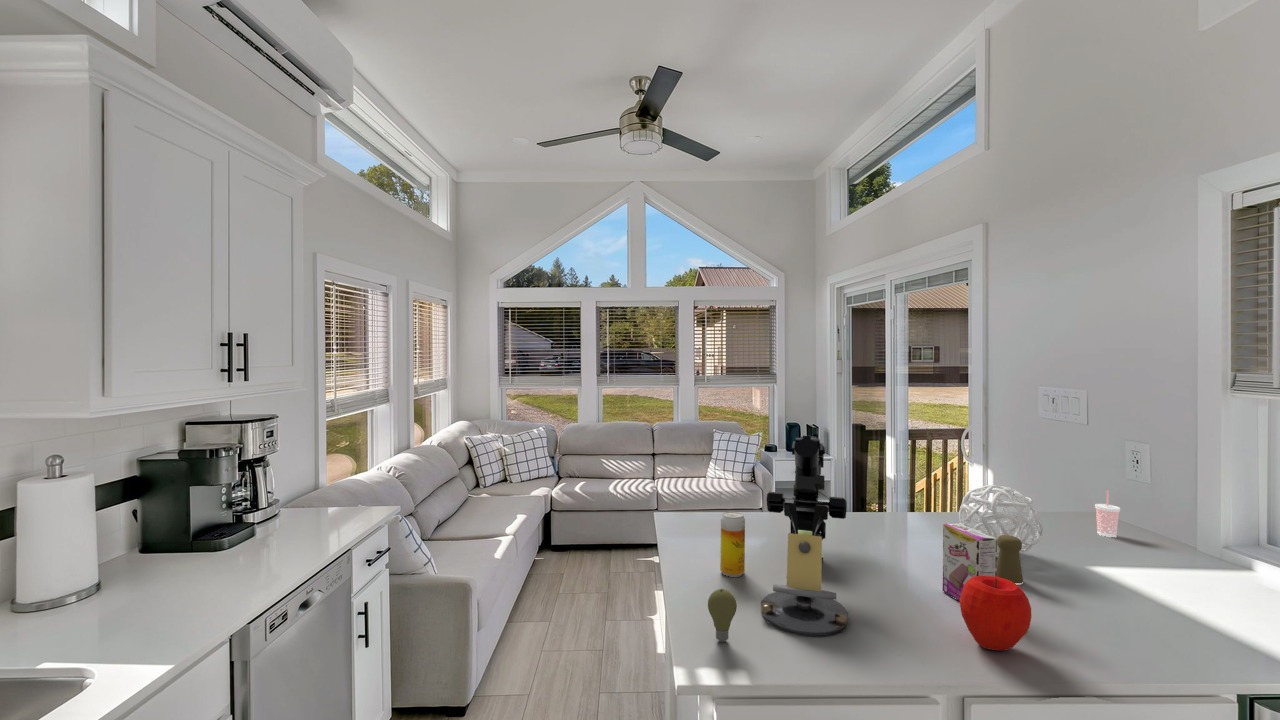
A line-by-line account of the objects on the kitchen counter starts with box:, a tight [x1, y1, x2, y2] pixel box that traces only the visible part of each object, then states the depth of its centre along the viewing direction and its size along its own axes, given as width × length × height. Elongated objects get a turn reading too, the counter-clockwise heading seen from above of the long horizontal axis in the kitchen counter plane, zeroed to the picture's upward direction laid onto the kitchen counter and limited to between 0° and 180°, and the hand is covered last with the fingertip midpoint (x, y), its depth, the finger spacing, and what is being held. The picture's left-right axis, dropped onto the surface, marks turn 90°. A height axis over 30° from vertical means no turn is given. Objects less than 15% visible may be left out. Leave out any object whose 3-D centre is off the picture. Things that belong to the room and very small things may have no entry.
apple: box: [958, 576, 1032, 651], centre depth 107 cm, size 12×12×13 cm
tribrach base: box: [760, 591, 850, 638], centre depth 120 cm, size 19×18×4 cm
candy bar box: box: [942, 522, 998, 602], centre depth 126 cm, size 11×5×16 cm, turn 9°
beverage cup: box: [1094, 489, 1121, 538], centre depth 173 cm, size 6×6×14 cm
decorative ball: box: [958, 484, 1044, 557], centre depth 155 cm, size 20×20×19 cm
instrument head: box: [772, 530, 837, 600], centre depth 122 cm, size 13×13×13 cm
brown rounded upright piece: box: [996, 535, 1024, 583], centre depth 138 cm, size 6×6×11 cm
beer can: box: [719, 511, 746, 578], centre depth 142 cm, size 6×6×15 cm
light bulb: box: [707, 588, 738, 643], centre depth 109 cm, size 6×6×10 cm
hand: (804, 536), depth 132 cm, fingers open, 3 cm apart
